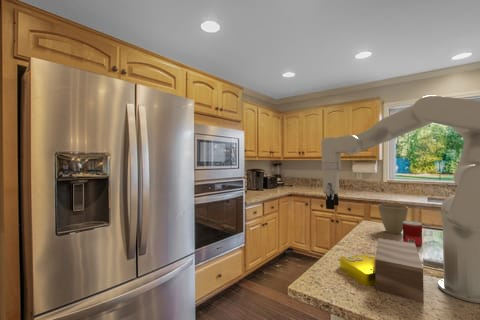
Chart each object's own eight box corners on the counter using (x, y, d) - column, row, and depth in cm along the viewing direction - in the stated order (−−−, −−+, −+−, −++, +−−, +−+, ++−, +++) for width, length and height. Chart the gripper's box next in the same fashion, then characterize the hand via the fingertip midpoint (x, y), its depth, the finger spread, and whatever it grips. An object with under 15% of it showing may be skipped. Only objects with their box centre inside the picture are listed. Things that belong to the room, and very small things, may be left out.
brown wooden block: (378, 262, 97) (378, 237, 97) (415, 269, 90) (414, 243, 90) (375, 290, 76) (375, 259, 76) (423, 302, 69) (423, 268, 69)
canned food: (426, 246, 113) (425, 224, 113) (410, 246, 113) (409, 224, 113) (414, 241, 121) (414, 220, 121) (399, 241, 121) (399, 220, 121)
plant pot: (395, 228, 144) (395, 203, 145) (415, 235, 130) (414, 207, 130) (373, 229, 143) (372, 203, 144) (390, 236, 129) (389, 208, 129)
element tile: (364, 287, 78) (364, 273, 78) (337, 267, 93) (337, 255, 93) (401, 282, 81) (401, 269, 81) (370, 264, 96) (369, 252, 96)
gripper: (326, 166, 106) (327, 203, 105) (317, 167, 91) (318, 210, 91) (343, 166, 102) (345, 204, 101) (337, 167, 87) (338, 211, 87)
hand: (332, 207), depth 96 cm, fingers open, 9 cm apart
